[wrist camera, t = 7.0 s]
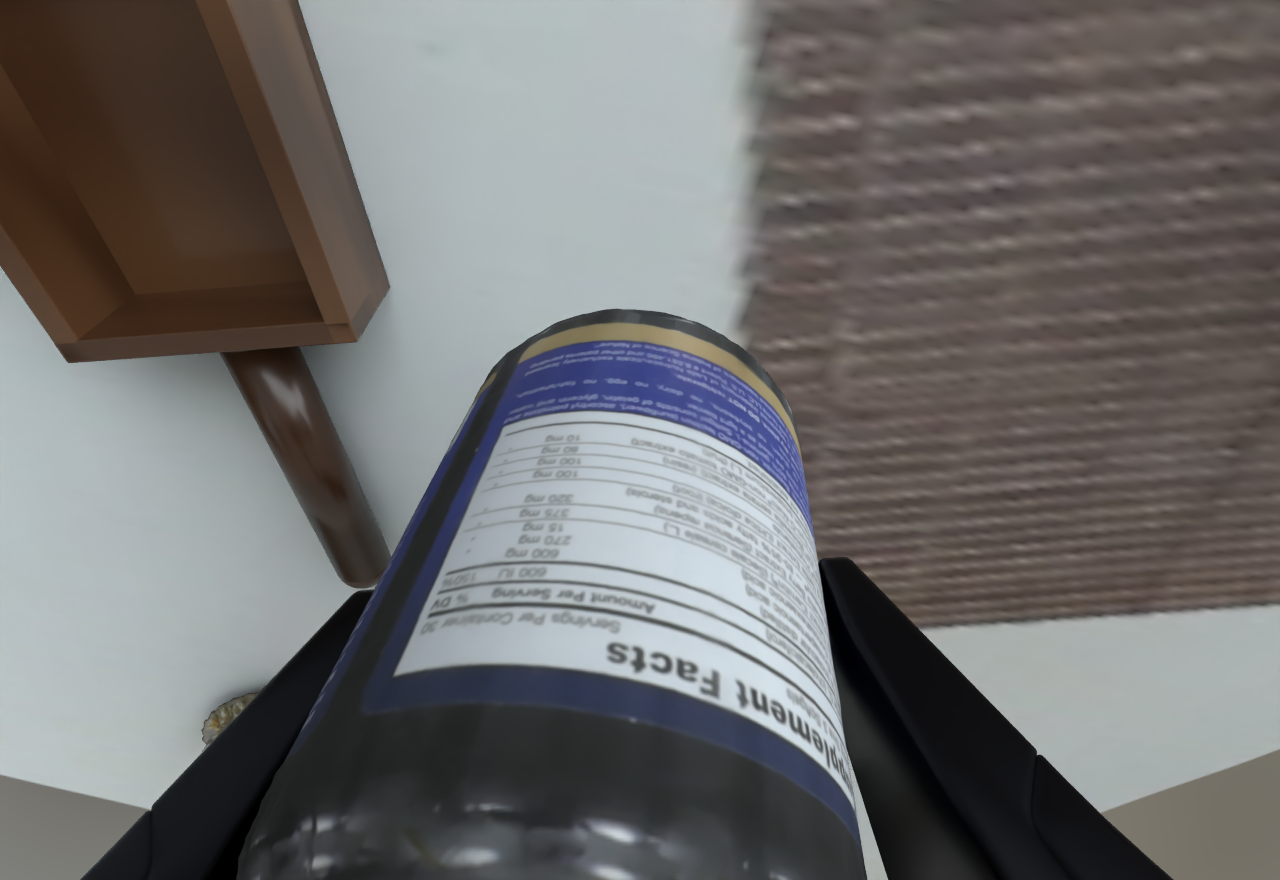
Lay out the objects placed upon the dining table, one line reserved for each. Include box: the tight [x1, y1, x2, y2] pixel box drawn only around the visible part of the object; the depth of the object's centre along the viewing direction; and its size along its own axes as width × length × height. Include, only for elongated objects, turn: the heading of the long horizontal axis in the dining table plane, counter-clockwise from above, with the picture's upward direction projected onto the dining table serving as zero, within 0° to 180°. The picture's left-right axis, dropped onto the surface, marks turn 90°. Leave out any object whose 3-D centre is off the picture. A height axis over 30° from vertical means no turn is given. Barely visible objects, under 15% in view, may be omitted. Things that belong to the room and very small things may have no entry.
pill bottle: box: [237, 309, 867, 880], centre depth 8 cm, size 6×6×11 cm
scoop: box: [0, 0, 391, 588], centre depth 18 cm, size 18×7×3 cm, turn 4°
